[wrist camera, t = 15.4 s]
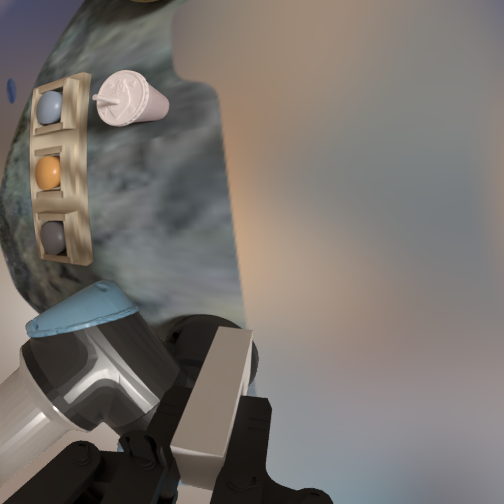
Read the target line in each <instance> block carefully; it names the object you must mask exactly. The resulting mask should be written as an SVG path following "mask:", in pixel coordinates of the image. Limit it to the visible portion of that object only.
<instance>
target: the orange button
mask: <svg viewBox="0 0 504 504" xmlns="http://www.w3.org/2000/svg"><path fill="white" fill-rule="evenodd" d="M35 180H36V183H37V185H38V186H39V188H40V189H42V190H49V189H53V188H58V187H60V186H61V183H60V156H47V157H42V158H41V159H40V160H39V161H38V162H37V164H36V168H35Z"/></svg>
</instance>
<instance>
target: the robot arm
mask: <svg viewBox="0 0 504 504" xmlns="http://www.w3.org/2000/svg"><path fill="white" fill-rule="evenodd" d="M138 310H139V309H138V307H137V306H135V305H133V304H132V303H131V301H130V300H129V299H128V298H127V296H126V295H125V294H124V293H123V291H122V290H121V289H120V288H119V286H118V285H117V284H115V283H114V282H112V281H109V280H100V281H97V282H95V283H93V284H91V285H89V286H87V287H85V288H84V289H82V290H80V291H78V292H76V293H75V294H73V295H71V296H69V297H68V298H66V299H64V300H62V301H61V302H59V303H57V304H56V305H54V306H52V307H51V308H49V309H48V310H46V311H44V312H43V313H41V314H40V315H38V316H37V317H35V318H34V319H33V320H31V321H29V322H28V323H27V324H26V330H27V335H28V336H29V337H31V338H30V339H29V340H28V341H27V342H26V343H25V344H24V345H22V346H21V348H20V366H19V368H18V369H17V370H16V371H15V372H14V373H12V374H11V375H10V376H9V377H8V378H7V379H6V380H5V381H4V382H3V383H2V384H1V385H0V488H1V487H2V486H3V485H4V484H6V483H7V482H8V481H9V480H10V479H12V478H13V477H14V476H15V475H17V474H18V473H19V472H20V471H21V470H23V469H24V468H25V467H26V466H28V465H29V464H30V463H31V462H32V461H34V460H35V459H36V458H37V457H38V456H40V455H41V454H42V453H43V452H44V451H46V450H47V449H48V448H49V447H50V446H52V445H53V444H54V443H55V442H56V441H57V440H59V439H60V438H61V437H62V436H64V435H65V434H66V433H67V432H68V431H69V430H76V431H81V432H86V433H88V432H90V431H92V430H93V429H94V428H96V427H97V426H98V425H99V424H100V423H102V422H105V423H106V424H107V425H108V426H110V427H111V428H112V429H113V430H114V431H115V432H116V433H117V434H118V435H119V436H120V439H119V442H118V444H117V445H118V448H117V452H111V451H100V450H98V448H97V447H96V446H95V445H94V444H92V443H90V442H88V441H81V440H80V441H76V442H73V443H71V444H70V445H68V446H67V447H66V448H65V449H64V450H62V451H61V452H60V453H59V454H58V455H57V456H56V457H55V458H54V459H52V460H51V461H50V462H49V463H48V464H47V465H46V466H45V467H44V468H42V469H41V470H40V471H39V472H38V473H37V474H36V475H35V476H33V477H32V478H31V479H30V480H29V481H28V482H27V483H25V484H24V485H23V486H22V487H21V488H20V489H19V490H18V491H16V492H15V493H14V494H13V495H12V496H11V497H10V498H8V499H7V500H6V501H5V502H4V503H3V504H176V501H177V498H178V491H177V487H178V485H184V486H193V487H198V488H202V489H208V490H213V493H212V497H211V501H210V504H333V501H332V500H331V498H330V496H329V495H328V494H326V493H325V492H323V491H322V490H319V489H315V488H304V489H301V490H298V491H297V490H294V489H290V488H287V487H285V486H282V485H280V484H278V483H276V482H275V481H273V480H272V479H271V478H270V476H269V475H268V473H267V471H266V456H267V448H268V440H269V431H270V423H271V414H272V408H271V405H270V403H269V401H268V398H260V397H252V396H246V393H247V388H248V387H249V386H250V384H251V383H252V381H253V380H254V378H255V375H256V372H257V367H258V361H259V357H258V351H257V348H256V346H255V344H254V342H253V340H252V334H253V333H252V332H253V330H246V329H242V328H240V327H239V326H237V325H236V324H234V323H232V322H230V321H228V320H226V319H223V318H220V317H216V316H210V315H196V316H191V317H188V318H185V319H183V320H181V321H180V322H178V323H177V324H176V325H175V326H174V327H173V329H172V330H171V332H170V333H169V335H168V336H167V338H166V341H165V343H163V342H162V341H161V340H160V339H159V337H158V336H157V335H156V334H155V332H154V331H153V330H152V329H151V327H150V326H149V325H148V324H147V322H146V321H145V320H144V319H143V317H142V316H141V315H140V313H139V312H138Z"/></svg>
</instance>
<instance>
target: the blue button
mask: <svg viewBox="0 0 504 504" xmlns="http://www.w3.org/2000/svg"><path fill="white" fill-rule="evenodd" d="M62 97H63V93H61V92H55V91H47V92H45V93H44V94H43V95H42V96H41V97H40V99H39V101H38V103H37V107H36V117H37V120H38V121H39V122H40V123H42V124H56V123H59V122H60V121H61V109H62Z"/></svg>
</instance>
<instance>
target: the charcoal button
mask: <svg viewBox="0 0 504 504" xmlns="http://www.w3.org/2000/svg"><path fill="white" fill-rule="evenodd" d="M40 239H41V243H42V245H43V247H44V249H45V250H46V251H47V252H48V253H49V254H51V255H56V254H58V253H60V252H62V251H64V250H66V249H67V248H66V241H65V233H64V224H63V221H57V220H54V221H52V222H49V223H46V224H44V225H43V226H42V228H41V232H40Z"/></svg>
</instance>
